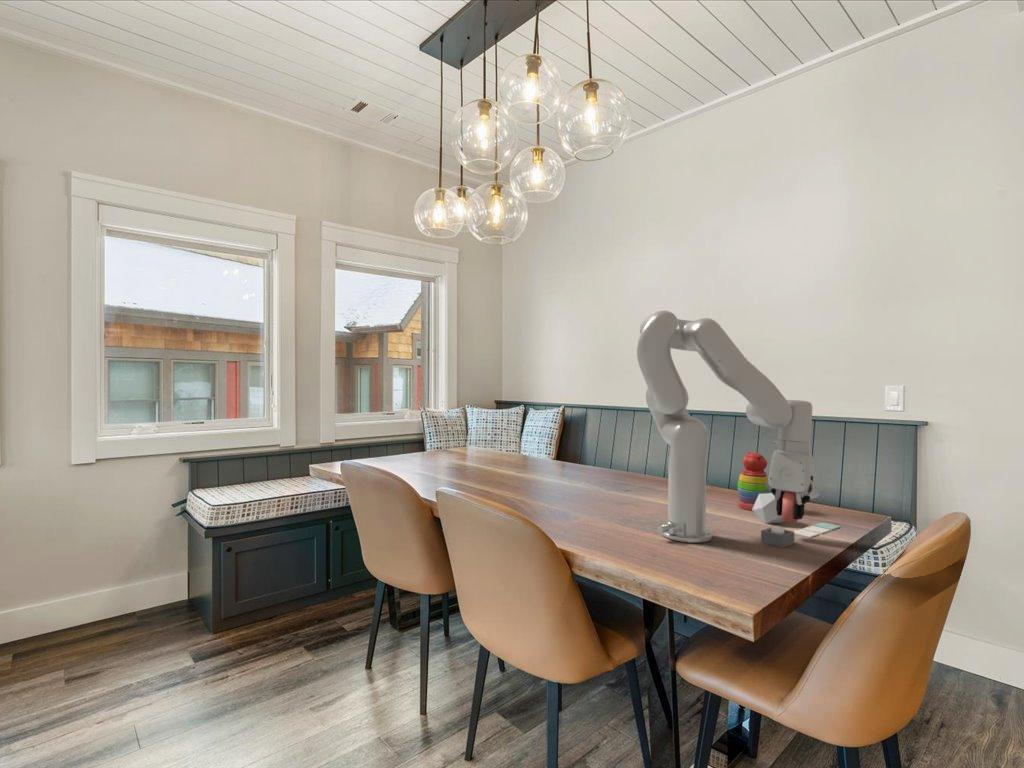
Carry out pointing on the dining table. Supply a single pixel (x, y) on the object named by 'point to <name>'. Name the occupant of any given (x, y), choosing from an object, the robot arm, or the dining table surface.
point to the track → (810, 531)
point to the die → (766, 508)
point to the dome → (777, 530)
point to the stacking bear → (752, 480)
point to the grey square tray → (777, 538)
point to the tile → (826, 526)
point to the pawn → (788, 507)
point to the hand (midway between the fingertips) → (789, 516)
